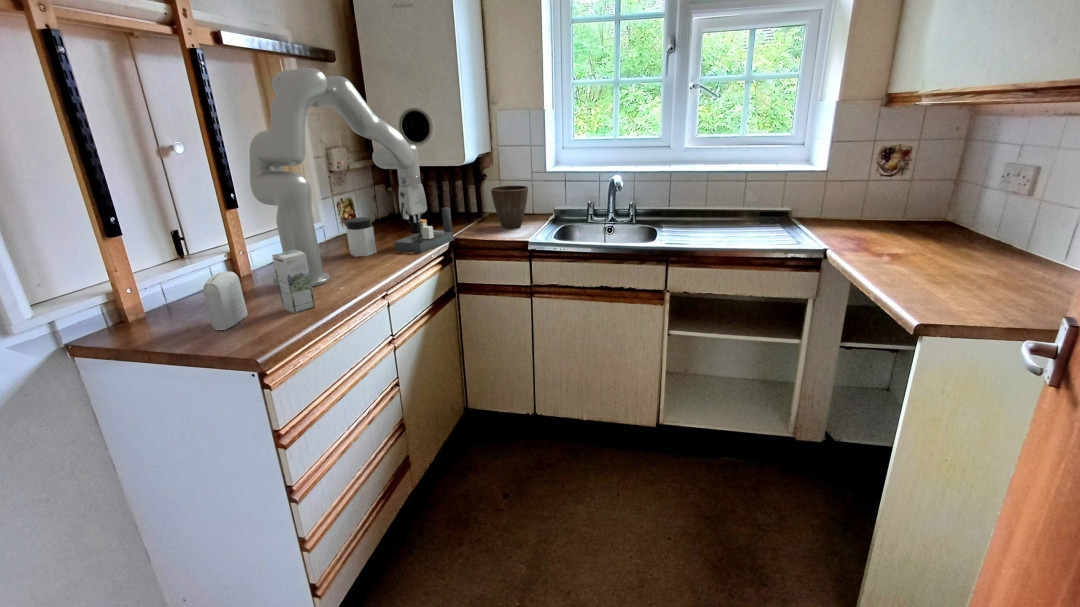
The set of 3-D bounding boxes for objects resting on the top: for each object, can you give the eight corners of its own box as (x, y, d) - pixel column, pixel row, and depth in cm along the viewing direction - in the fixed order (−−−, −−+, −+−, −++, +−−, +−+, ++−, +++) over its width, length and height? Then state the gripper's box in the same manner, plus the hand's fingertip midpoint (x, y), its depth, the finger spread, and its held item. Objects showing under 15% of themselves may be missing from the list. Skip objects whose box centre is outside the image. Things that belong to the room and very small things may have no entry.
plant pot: (490, 225, 218) (487, 186, 213) (525, 222, 222) (523, 184, 216) (497, 232, 205) (494, 191, 199) (533, 229, 208) (532, 188, 203)
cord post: (450, 241, 194) (447, 209, 190) (441, 240, 196) (438, 208, 192) (456, 239, 198) (453, 207, 193) (447, 238, 199) (444, 206, 195)
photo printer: (233, 315, 129) (220, 267, 125) (250, 314, 129) (238, 266, 125) (210, 332, 120) (196, 281, 115) (230, 331, 120) (216, 280, 115)
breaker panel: (421, 253, 179) (420, 243, 178) (395, 251, 183) (394, 241, 182) (454, 240, 196) (453, 231, 194) (429, 238, 200) (428, 229, 199)
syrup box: (304, 303, 136) (293, 248, 131) (316, 307, 132) (305, 252, 127) (283, 309, 132) (270, 254, 127) (294, 314, 128) (282, 257, 123)
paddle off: (429, 239, 183) (428, 227, 181) (422, 238, 184) (421, 227, 182) (433, 237, 185) (432, 226, 183) (426, 236, 186) (425, 225, 184)
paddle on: (423, 234, 190) (422, 221, 189) (416, 233, 192) (415, 220, 190) (427, 232, 192) (426, 219, 191) (421, 232, 194) (419, 219, 192)
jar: (348, 257, 178) (342, 222, 174) (352, 251, 185) (347, 218, 181) (375, 255, 179) (369, 221, 175) (378, 249, 186) (373, 216, 182)
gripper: (404, 184, 174) (411, 238, 181) (431, 179, 187) (436, 229, 193) (387, 184, 177) (394, 236, 184) (414, 178, 190) (420, 228, 196)
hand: (415, 233), depth 189 cm, fingers closed
